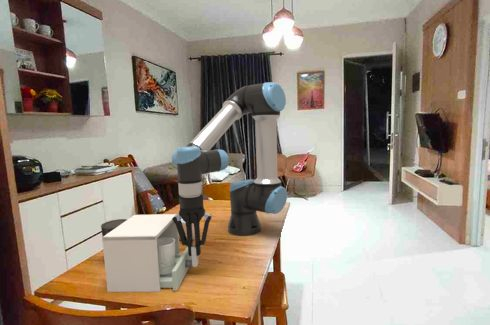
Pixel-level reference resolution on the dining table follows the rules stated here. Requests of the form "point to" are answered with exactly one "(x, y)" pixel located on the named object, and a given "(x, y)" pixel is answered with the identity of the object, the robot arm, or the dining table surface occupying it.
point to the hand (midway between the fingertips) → (195, 264)
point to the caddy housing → (137, 252)
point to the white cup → (166, 255)
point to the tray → (177, 271)
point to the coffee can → (111, 226)
